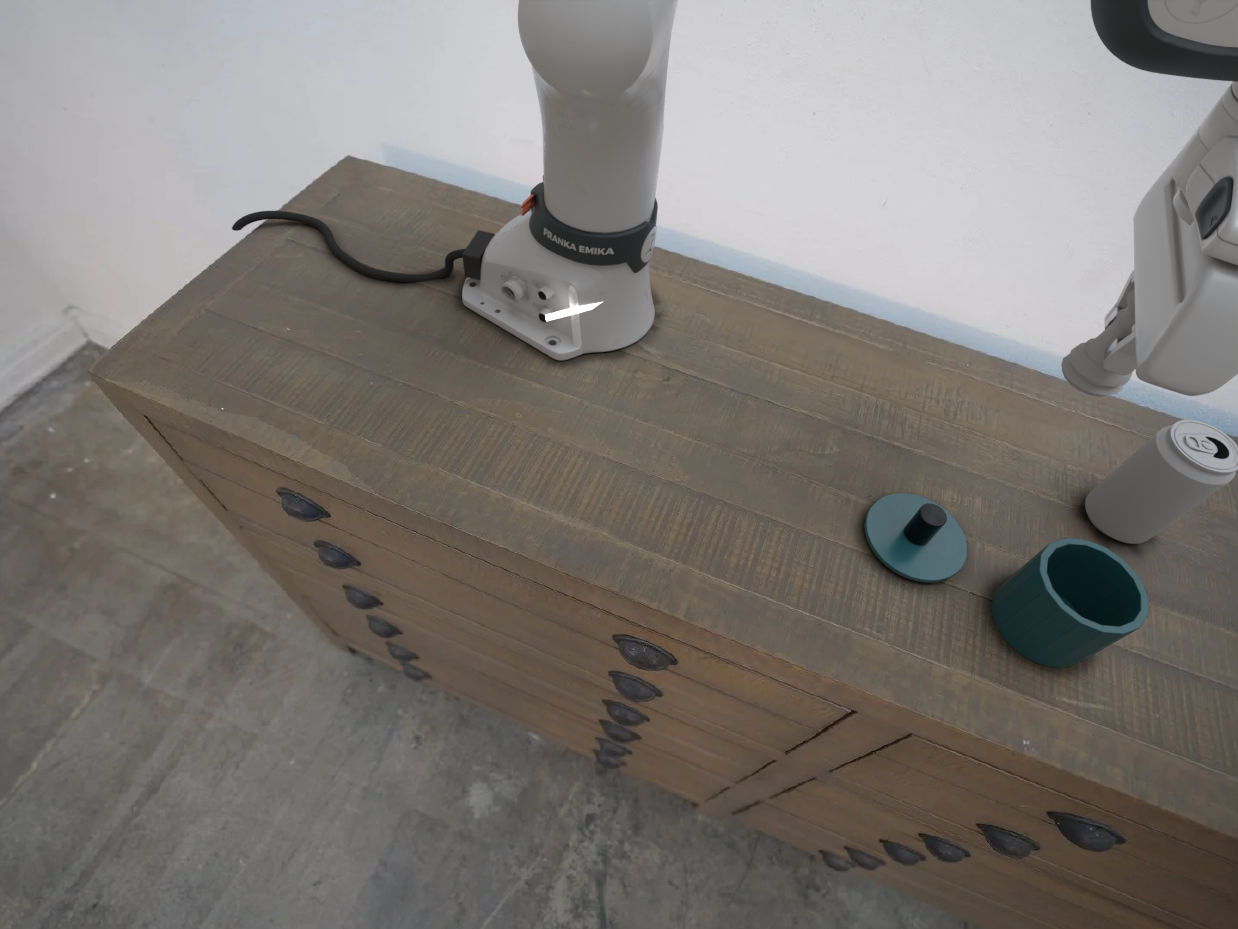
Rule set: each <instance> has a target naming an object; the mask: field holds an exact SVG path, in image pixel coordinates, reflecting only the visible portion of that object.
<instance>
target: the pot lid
mask: <svg viewBox="0 0 1238 929" xmlns="http://www.w3.org/2000/svg"><path fill="white" fill-rule="evenodd" d="M864 533H865V534H864V535H865V537H866V538H865V539H866V541H867V543H868V545H869V548H870V550H872V552H873V553H874V555H875V556H876V558H877V559H879V561H880V562H881V563H882V564H884V566H885V567H887V568H888V569H890V570H891V571H892V572H894V573H895V574H897V575H899V576H901V577H903V578H906V579H909V580H911V581H915V582H920V583H926V584H927V583H928V584H929V583H930V584H933V583H940V582H944V581H947V580H949V579H951V578H952V577H954V576H956V575H957V574H958V572H959V571H961V570H962V568H963V567H964V566H965V563H966V561H967V558H968V542H967V538H966V535H965V533H964V531H963V528H962V527H961V525H960V523H959V522H958V521H957V519H955V517H954V516H953V515H952V514H951V513H950V512H949V511H947V509H946V508H944V507H943V506H942V505H940V504H938V503H937V502H935V501H933V500H931V499H929V498H927V497H925V496H921V495H919V494H914V493H909V492H908V493H907V492H896V493H890V494H887V495H885V496H883V497H881V498H879V499H877V500H876V501H875V502H874V503H873V504H872V505H871V506H870V508H869V509H868V511H867V513H866V515H865V519H864Z"/></svg>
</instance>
